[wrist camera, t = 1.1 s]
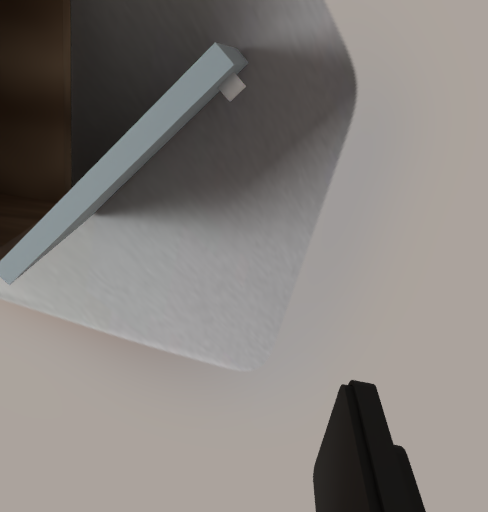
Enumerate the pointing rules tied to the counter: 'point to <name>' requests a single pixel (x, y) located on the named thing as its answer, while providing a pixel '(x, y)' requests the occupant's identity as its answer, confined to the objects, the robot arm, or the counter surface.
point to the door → (130, 154)
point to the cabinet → (33, 113)
